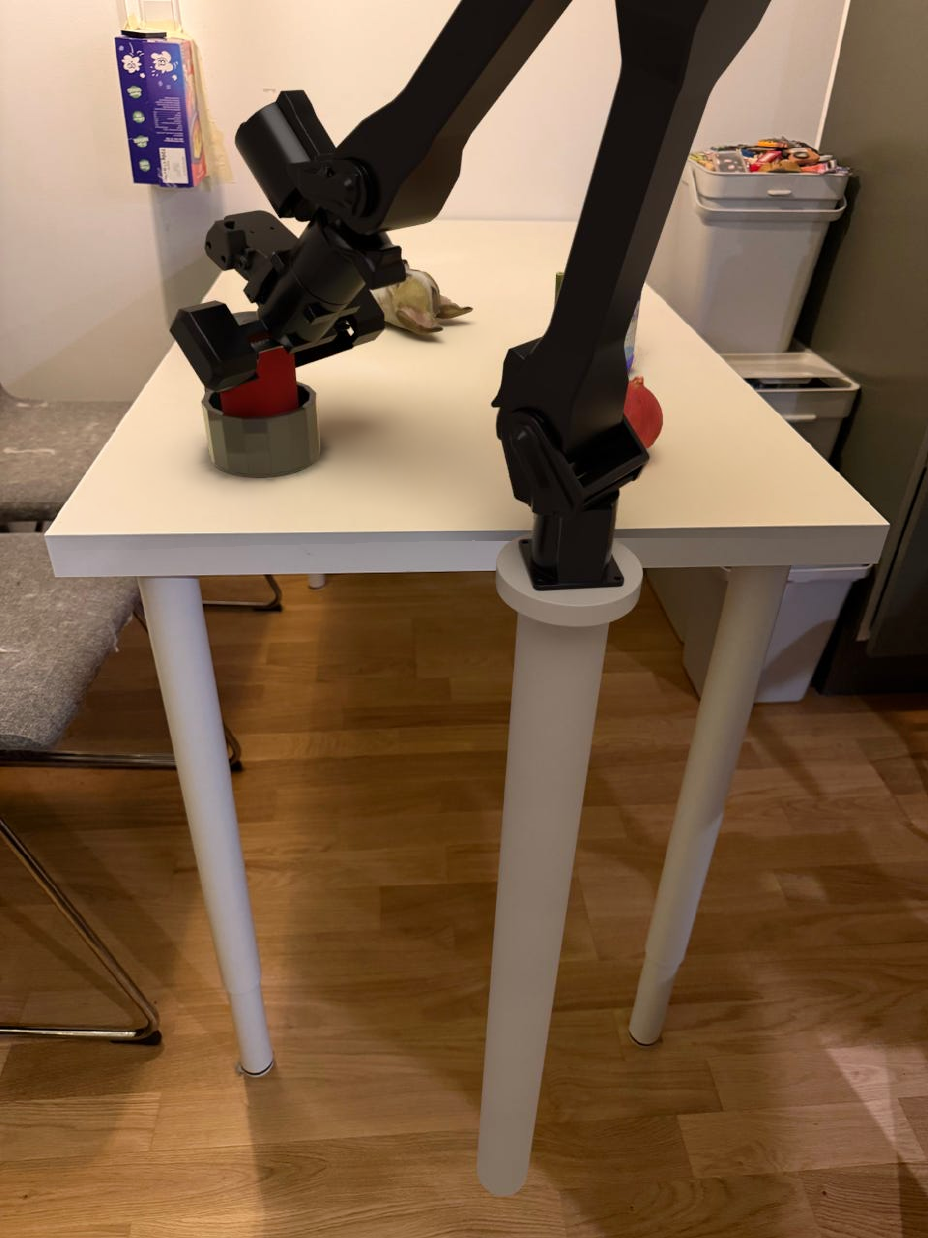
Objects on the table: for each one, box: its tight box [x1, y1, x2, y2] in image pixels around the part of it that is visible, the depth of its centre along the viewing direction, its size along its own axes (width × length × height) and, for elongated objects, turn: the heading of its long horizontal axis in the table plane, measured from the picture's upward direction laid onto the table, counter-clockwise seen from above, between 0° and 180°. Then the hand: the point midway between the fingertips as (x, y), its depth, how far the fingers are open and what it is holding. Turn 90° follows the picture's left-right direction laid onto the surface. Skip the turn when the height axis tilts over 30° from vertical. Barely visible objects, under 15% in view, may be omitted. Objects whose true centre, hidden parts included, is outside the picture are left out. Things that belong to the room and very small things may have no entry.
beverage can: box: [220, 310, 299, 416], centre depth 78 cm, size 7×7×12 cm
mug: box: [200, 380, 321, 478], centre depth 81 cm, size 13×10×6 cm
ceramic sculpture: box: [369, 258, 474, 335], centre depth 112 cm, size 11×9×15 cm
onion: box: [623, 375, 664, 450], centre depth 80 cm, size 6×6×8 cm
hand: (248, 377), depth 79 cm, fingers closed on beverage can, 7 cm apart
